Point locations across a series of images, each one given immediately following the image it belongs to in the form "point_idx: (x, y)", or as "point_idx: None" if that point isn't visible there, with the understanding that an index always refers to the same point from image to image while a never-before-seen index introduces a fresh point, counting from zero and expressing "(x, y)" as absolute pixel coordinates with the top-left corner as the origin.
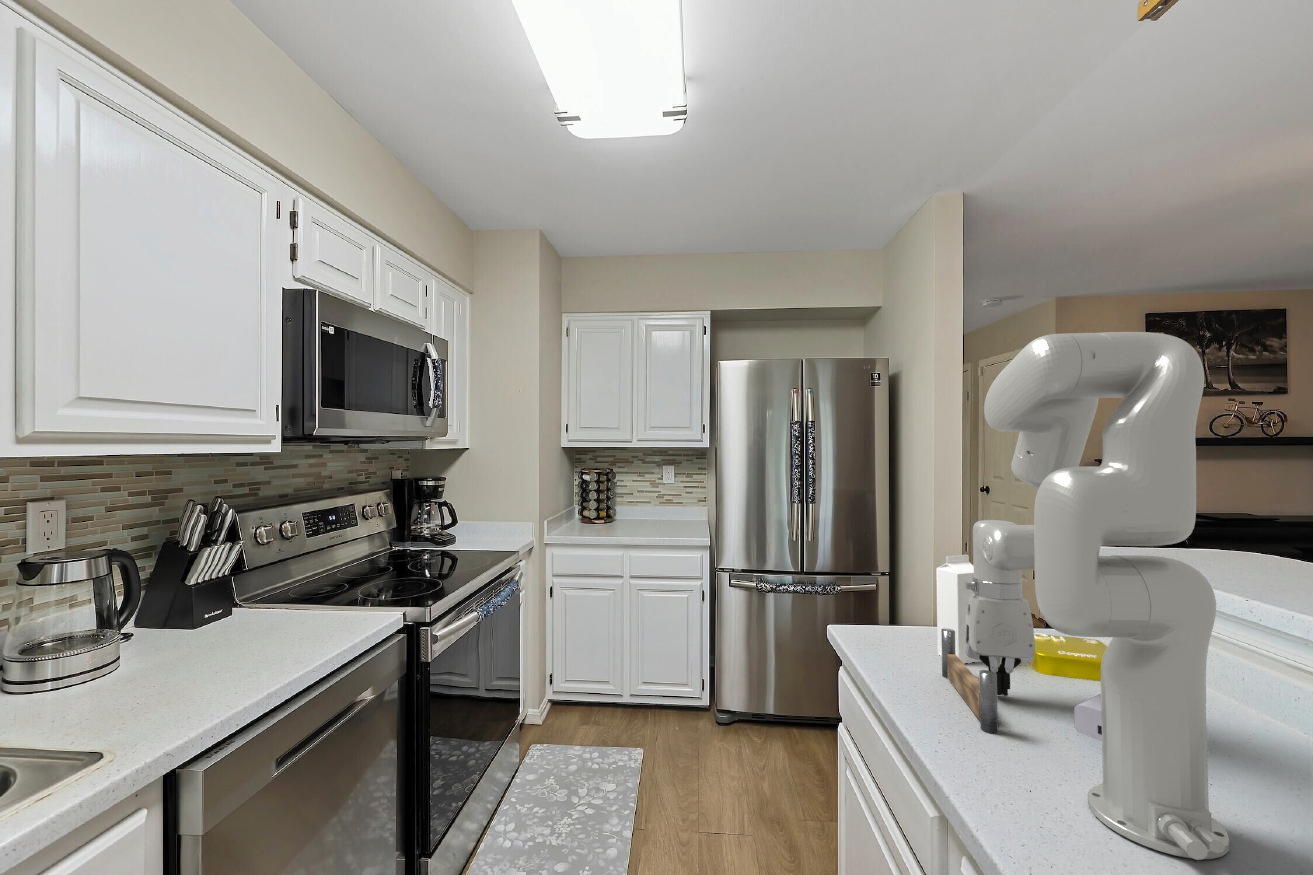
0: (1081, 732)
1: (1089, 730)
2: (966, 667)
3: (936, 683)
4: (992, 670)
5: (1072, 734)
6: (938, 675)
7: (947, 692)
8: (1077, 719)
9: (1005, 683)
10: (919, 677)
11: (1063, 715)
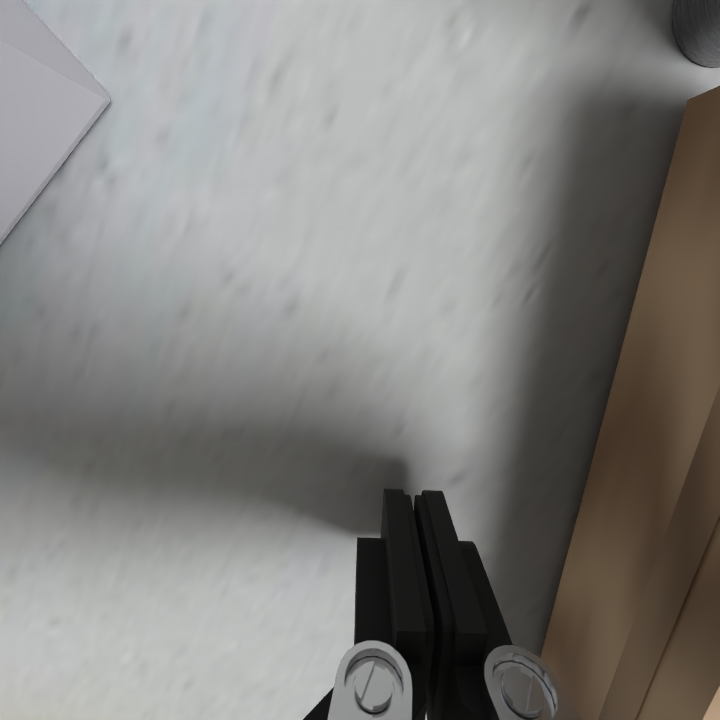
0: (86, 70)
1: (10, 3)
2: (706, 709)
3: None
4: (529, 666)
5: (156, 45)
6: None
7: None
8: (34, 49)
9: (406, 547)
10: None
11: (129, 345)
